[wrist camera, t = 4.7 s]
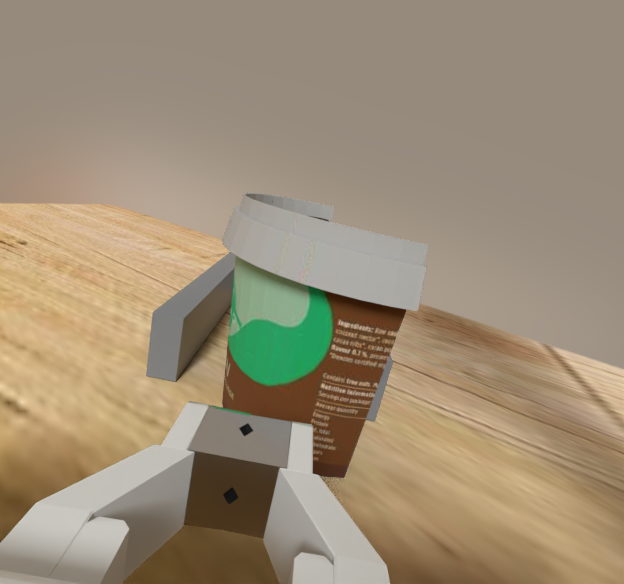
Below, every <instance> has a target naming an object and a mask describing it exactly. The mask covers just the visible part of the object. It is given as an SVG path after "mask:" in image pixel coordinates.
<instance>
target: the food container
mask: <svg viewBox="0 0 624 584" xmlns="http://www.w3.org/2000/svg"><path fill="white" fill-rule="evenodd" d="M333 212H334V207H332V206H327V205H323V204H318V203H313V202H308V201H303V200H297V199H292V198H286V197H281V196H274V195H267V194H260V193H244V195H243V198H242V202H241V205H240V206H236V207H235V208H234V210H233V212H232V215H231V217H230V220H229V223H228V225H227V228H226V230H225V233H224V235H223V238H222V242H223V245H224V246H225V247H226V248H227V249H228V250H229V251H230V252H232V253H233V254H235V255H236V258H235V269H234V280H233V291H232V302H231V313H230V324H229V335H228V346H227V358H226V369H225V380H224V391H223V402H222V403H223V408H226V409H230V410H235V411H240V412H244V413H249V414H251V415H257V416H262V417H268V418H273V419H279V420H285V421H290V422H292V421H293V422H300V423H306V424H312V426H313V474H316V475H319V476H325V477H340V478H344V477H345V474H346V471H347V469H348V466H349V463H350V461H351V458H352V455H353V453H354V450H355V447H356V444H357V442H358V439H359V436H360V434H361V431H362V428H363V426H364V423H365V420H366V417H367V415H368V412H369V409H370V407H371V404H372V401H373V399H374V396H375V393H376V390H377V388H378V385H379V382H380V380H381V377H382V374H383V372H384V369H385V366H386V363H387V361H388V358H389V355H390V353H391V350H392V347H393V345H394V342H395V339H396V336H397V334H398V331H399V328H400V326H401V323H402V320H403V318H404V315H405V312H406V309H407V310H413V311H418V308H419V303H420V298H421V293H422V288H423V282H424V278H425V273H426V268H427V267H426V266H423V264H424V260H425V257H426V253H427V249H428V245H427V244H422V243H417V242H413V241H408V240H403V239H399V238H395V237H390V236H386V235H381V234H377V233H373V232H369V231H364V230H361V229H356V228H352V227H348V226H344V225H340V224H336V223H332V216H333Z"/></svg>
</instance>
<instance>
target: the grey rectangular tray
mask: <svg viewBox="0 0 624 584" xmlns="http://www.w3.org/2000/svg"><path fill="white" fill-rule="evenodd" d="M235 258H236V255H235V254H233V253H232V252H230V253H229V254H227V255H226V256H225V257H223V258H222V259H221V260H220V261H218V262H217V263H216V264H214V265H213V266H212V267H211V268H209V269H208V270H207V271H205V272H204V273H203V274H202V275H200V276H199V277H198V278H196V279H195V280H194V281H193V282H191V283H190V284H189V285H187V286H186V287H185V288H184V289H182V290H181V291H180V292H178V293H177V294H176V295H175V296H173V297H172V298H171V299H169V300H168V301H167V302H166V303H164V304H163V305H162V306H160V307H159V308H158V309H157V310H155V311H154V312H153V316H152V326H151V335H150V345H149V354H148V364H147V373H146V376H149V377H155V378H160V379H165V380H170V381H175V382H176V380H177V379H178V378H179V376H180V375H181V373H182V372H183V371H184V369H185V368H186V366H187V365H188V364H189V362H190V361H191V359H192V358H193V357H194V355H195V354H196V352H197V351H198V350H199V348H200V347H201V346H202V344H203V343H204V341H205V340H206V339H207V337H208V336H209V334H210V333H211V332H212V330H213V329H214V327H215V326H216V325H217V323H218V322H219V320H220V319H221V318H222V316H223V315H224V314H225V312H226V311H227V309H228V308H229V307H230V305H231V302H232V291H233V280H234V269H235ZM392 364H393V361H392V358H391V356H390V355H389V358H388V361H387V363H386V366H385V369H384V372H383V374H382V377H381V380H380V382H379V385H378V388H377V390H376V393H375V396H374V399H373V401H372V404H371V407H370V409H369V412H368V415H367V417H366V420H371V421H375V419H376V416H377V413H378V409H379V406H380V403H381V399H382V396H383V393H384V390H385V386H386V383H387V380H388V377H389V373H390V370H391V367H392Z"/></svg>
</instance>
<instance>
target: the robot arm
mask: <svg viewBox="0 0 624 584" xmlns="http://www.w3.org/2000/svg"><path fill="white" fill-rule="evenodd" d="M183 524H185V525H191V526H198V527H205V528H212V529H219V530H225V531H230V532H235V533H239V534H244V535H249V536H254V537H258V538H263V542H264V545H265V547H266V550H267V553H268V555H269V558H270V560H271V563H272V566H273V568H274V571H275V574H276V576H277V579H278V581H279V584H390V580H389V575H388V569H387V565H386V564H385V563H384V561H383V560H382V559H381V557H380V556H379V555H378V553H377V552H376V551H375V549H374V548H373V547H372V545H371V544H370V543H369V541H368V540H367V539H366V537H365V536H364V535H363V533H362V532H361V531H360V529H359V528H358V527H357V525H356V524H355V523H354V521H353V520H352V518H351V517H350V516H349V514H348V513H347V512H346V510H345V509H344V508H343V506H342V505H341V504H340V502H339V501H338V500H337V498H336V497H335V496H334V494H333V493H332V492H331V490H330V489H329V488H328V486H327V485H326V484H325V482H324V481H323V480H322V478H321V477H320V476H319V475H316V474H313V426H312V424H306V423H300V422H293V421H292V422H290V421H285V420H279V419H273V418H268V417H262V416H257V415H251V414H249V413H244V412H240V411H235V410H230V409H226V408H221V407H217V406H212V405H211V406H210V405H207V404H202V403H197V402H192V401H189V402H188V403H186V404H185V406H184V408H183V409H182V411H181V413H180V414H179V416H178V418H177V419H176V421H175V423H174V424H173V426H172V428H171V429H170V431H169V433H168V434H167V436H166V438H165V439H164V441H163V443H162V444H161V445H156V444H154V445H152V446H150V447H148V448H146V449H144V450H142V451H140V452H138V453H136V454H134V455H132V456H129V457H127V458H125V459H123V460H121V461H119V462H117V463H115V464H113V465H111V466H109V467H107V468H105V469H103V470H101V471H99V472H97V473H95V474H93V475H91V476H89V477H87V478H85V479H83V480H81V481H79V482H77V483H75V484H73V485H71V486H69V487H67V488H65V489H63V490H61V491H59V492H57V493H55V494H53V495H51V496H49V497H47V498H45V499H42V500H40V501H38V502H36V503H35V505H34V506H33V507H32V508H31V509H30V510H29V511H28V512H27V514H26V515H25V516H24V517H23V518H22V519H21V520H20V521H19V523H18V524H17V525H16V526H15V527H14V528H13V529H12V530H11V532H10V533H9V534H8V535H7V536H6V537H5V538H4V539H3V541H2V542H1V543H0V584H123V583H124V580H125V579H126V578H127V577H129V576H130V575H131V574H132V573H133V572H134V571H135V570H136V569H137V568H138V567H140V566H141V565H142V564H143V563H144V562H145V561H146V560H147V559H148V558H149V557H151V556H152V555H153V554H154V553H155V552H156V551H157V550H158V549H159V548H161V547H162V546H163V545H164V544H165V543H166V542H167V541H168V540H169V539H170V538H172V537H173V536H174V535H175V534H176V533H177V532H178V531H179V530H180V529H181V528H183Z"/></svg>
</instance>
